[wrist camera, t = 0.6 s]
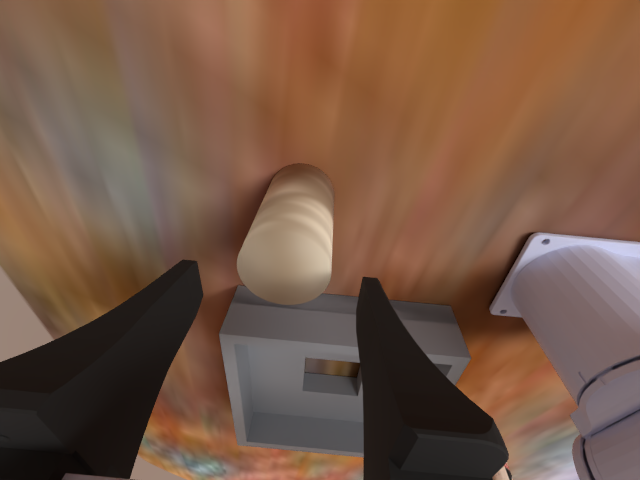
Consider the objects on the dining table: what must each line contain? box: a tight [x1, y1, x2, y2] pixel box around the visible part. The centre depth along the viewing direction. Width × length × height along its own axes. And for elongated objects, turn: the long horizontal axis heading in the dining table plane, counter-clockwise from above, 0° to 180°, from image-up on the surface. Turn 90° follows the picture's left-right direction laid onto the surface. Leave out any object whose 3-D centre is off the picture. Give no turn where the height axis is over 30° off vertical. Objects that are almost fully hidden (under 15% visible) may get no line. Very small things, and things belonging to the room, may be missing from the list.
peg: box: [237, 163, 334, 305], centre depth 18 cm, size 4×4×8 cm
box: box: [219, 285, 471, 457], centre depth 29 cm, size 18×18×5 cm
